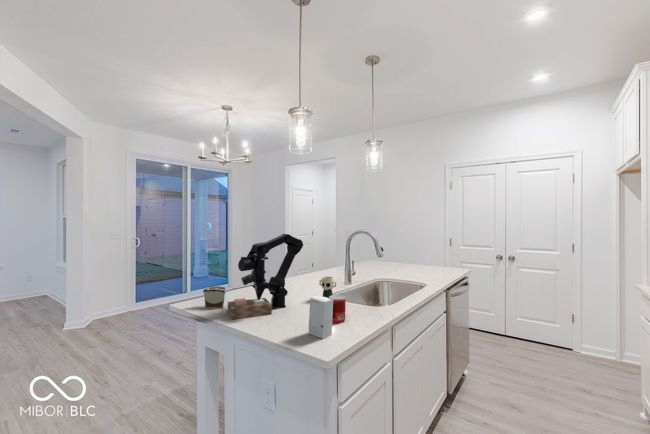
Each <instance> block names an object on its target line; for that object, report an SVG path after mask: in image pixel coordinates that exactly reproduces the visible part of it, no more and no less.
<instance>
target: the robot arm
mask: <svg viewBox="0 0 650 434" xmlns="http://www.w3.org/2000/svg"><path fill="white" fill-rule="evenodd" d="M282 244H285V245H287V246H286V253H285V256H284V258H283V260H282V262H281V264H280V266H279V268H278V271H277V272H276V274H275V276H270V279H269V280H268V281H266V278H265V276H266V275H265V274H266V273H267V272H266V270H265V269H266V268H265V266H266V262H265V261H266V260H269V257H268V256H267V254H269V252H270V251H271V250H272V249H274V248H276V247H278V246H281V245H282ZM303 247H304V242H303V240H302V239H299V238H297V237H294V236H292V235H291V234H289V233H282V234H281V235H279V236H276V237H274V238H271V239H270V240H268V241H265V242H263V241H262V242H258V243H254V244H252V245H251V249H250V250H249V252H248V254H247V255H246V256H241V257H240V260H239V261H238V264H237V266H238V270H239V271H240V272H245V271H246V272H247V271H251V273H249V274H247V275H244V276H243V277H242V276H241V278H240V279H241V282H242V285H243V286H247V285H248V284H251V283H252V284H251V286H252V288H253V289H254V291H255V295H256V299H257V300H260V298H262V297H263V294H264V291H265V290H268V291H269V294H270V295H272V297H270V301H271V302H270V303H271V304H272V308H273V309H281V308H286V307H287V306H286V296H288V293H289V292H288V290H287V289H286V288H285V287H286V277H287V274H288V272H289V270H290V268H291V266H292V263H293V261H294V259H295V257H296V255H298V254H299V253H300V252H301V250H302V249H303Z"/></svg>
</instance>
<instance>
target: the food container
mask: <svg viewBox="0 0 650 434" xmlns="http://www.w3.org/2000/svg"><path fill="white" fill-rule="evenodd" d="M202 293H203V294H204V295H203V296H204V307H205V309H223V308H224V305H225V298H226V296H225V295H226V293H227V290H226V287H225V286H209V287H204V288H203V291H202Z"/></svg>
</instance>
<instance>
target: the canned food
mask: <svg viewBox="0 0 650 434" xmlns="http://www.w3.org/2000/svg"><path fill="white" fill-rule="evenodd" d="M329 299H333V316H332V324H343V323H345V321H346V305H347V304H346V296H345V295H341V294H333V295H332V296H329Z"/></svg>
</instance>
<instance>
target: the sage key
mask: <svg viewBox="0 0 650 434" xmlns="http://www.w3.org/2000/svg"><path fill="white" fill-rule="evenodd" d="M262 298H263V297H261V298H260V300H257V298H253V299H252V298H251V299H252V302H253V303H254V304H259V303H265V301H264V300H263V299H262Z"/></svg>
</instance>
